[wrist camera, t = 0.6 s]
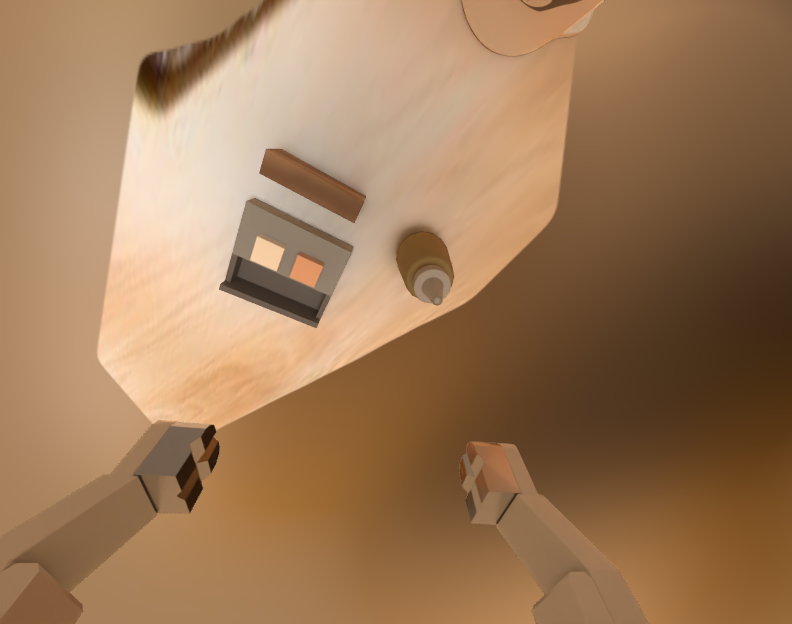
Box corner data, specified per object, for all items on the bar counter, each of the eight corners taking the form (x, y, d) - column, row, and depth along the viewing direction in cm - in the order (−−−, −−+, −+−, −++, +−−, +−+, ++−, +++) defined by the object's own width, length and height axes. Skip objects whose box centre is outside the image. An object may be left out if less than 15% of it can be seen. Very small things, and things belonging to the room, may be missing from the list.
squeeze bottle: (442, 272, 50) (470, 328, 34) (396, 274, 49) (402, 332, 34) (444, 224, 46) (476, 264, 30) (394, 227, 45) (400, 268, 30)
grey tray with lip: (254, 198, 42) (241, 203, 39) (353, 246, 47) (350, 255, 43) (232, 278, 49) (219, 289, 45) (321, 314, 53) (316, 328, 49)
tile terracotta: (300, 251, 44) (297, 254, 42) (325, 263, 45) (323, 266, 43) (291, 273, 45) (289, 277, 44) (315, 284, 46) (313, 287, 45)
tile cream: (261, 233, 42) (257, 236, 41) (287, 245, 43) (284, 248, 42) (253, 256, 44) (249, 259, 42) (279, 267, 45) (276, 271, 44)
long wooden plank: (281, 148, 40) (266, 149, 34) (366, 196, 43) (363, 202, 38) (275, 170, 41) (259, 173, 36) (357, 214, 44) (354, 223, 39)
